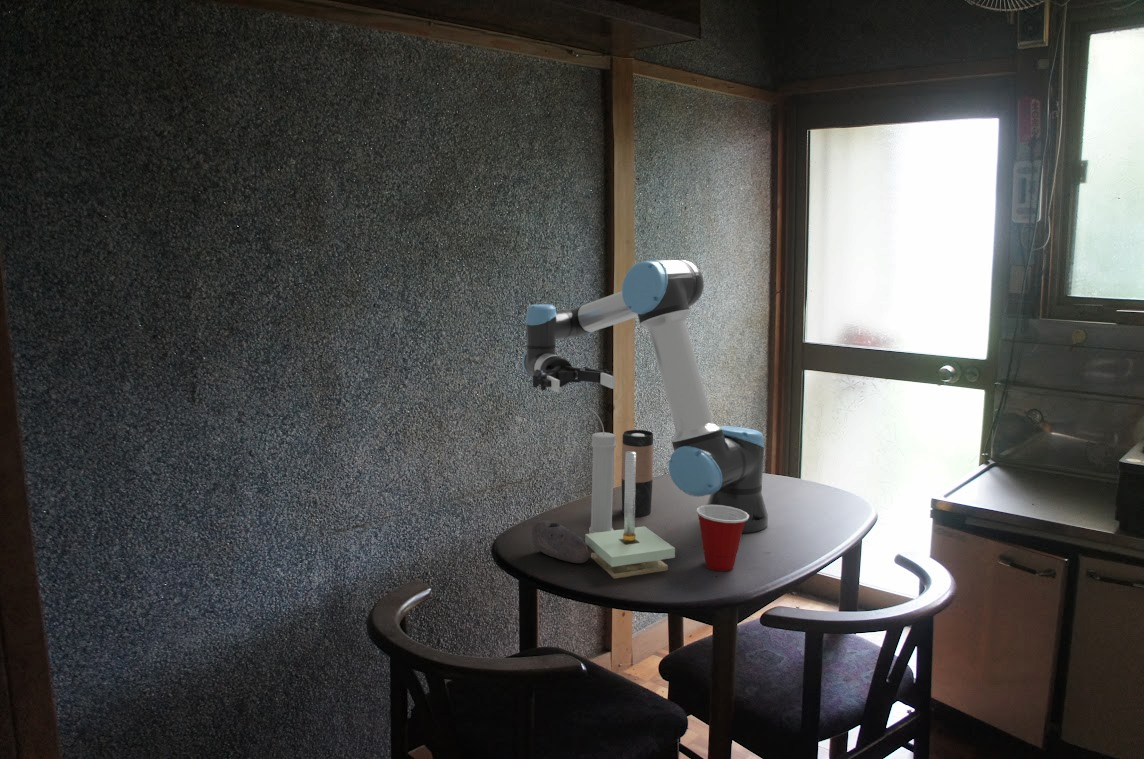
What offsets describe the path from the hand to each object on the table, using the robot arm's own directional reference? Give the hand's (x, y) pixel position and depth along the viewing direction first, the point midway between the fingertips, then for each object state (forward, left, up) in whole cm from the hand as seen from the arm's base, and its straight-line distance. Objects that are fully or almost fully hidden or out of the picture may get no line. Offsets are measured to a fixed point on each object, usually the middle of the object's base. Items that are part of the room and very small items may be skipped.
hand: (585, 384), depth 195 cm
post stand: (-12, +21, -34) cm, 42 cm away
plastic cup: (-31, +19, -34) cm, 50 cm away
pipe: (-4, +8, -34) cm, 35 cm away
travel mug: (-11, -13, -34) cm, 38 cm away
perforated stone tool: (+2, +20, -34) cm, 40 cm away
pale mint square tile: (-12, +21, -31) cm, 39 cm away
